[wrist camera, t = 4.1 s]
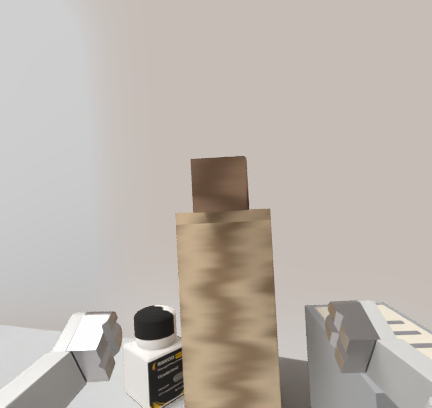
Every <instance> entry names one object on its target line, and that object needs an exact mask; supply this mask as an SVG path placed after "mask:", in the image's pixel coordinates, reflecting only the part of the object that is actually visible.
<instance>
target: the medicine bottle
mask: <svg viewBox="0 0 432 408" xmlns="http://www.w3.org/2000/svg"><path fill="white" fill-rule="evenodd" d="M134 330H135V340H134V341H131V342H128V343H126V344H124V346H123V350H124V373H125V391H126V393H127V394H128V395H129V396H131V397H132V398H133V399H134V400H135V401H136V402H137V403H138V404H140V405H141V406H142V407H143V408H162V407H163V406H165V405H166V404H168V403H170V402H171V401H173V400H174V399H176V398H178V397H179V396H181V395H182V394H184V380H183V359H182V338H181V337H179V336H177V335H176V334H177V332H176V313H175V310H174V309H173V308H171V307H169V306H164V305H154V306H149V307H146V308H143V309H141V310H140V311H138V312H137V313H136V314H135V316H134Z"/></svg>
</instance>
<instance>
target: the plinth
mask: <svg viewBox="0 0 432 408" xmlns="http://www.w3.org/2000/svg"><path fill="white" fill-rule="evenodd" d="M375 304H376V305H377V307H378V309H379V310H380V312H381V313H382V315H383V317H384V318H385V320H386V321H387V323H388V325H389V326H390V328H391V329H392V331H393V333H394V334H395V336H396V337H397V339H403V340H404V341H406V342H407V343H408V344H410V345H411V346H413V347H414V348H416V349H417V350H419V351H420V352H421V353H423V354H424V355H426V356H427V357H429V358H430V359H431V360H432V331H430V330H429V329H427V328H426V327H424V326H422V325H420V324H419V323H417V322H416V321H414V320H412V319H410V318H409V317H407V316H405V315H403V314H402V313H400V312H399V311H397V310H395V309H393V308H392V307H390V306H388V305H387V304H385V303H375ZM328 315H329V311H328V305H307V306H305V319H306V336H307V351H308V370H309V387H310V404H311V408H399V407H398V406H397V405H396V404H395V403H394V402H393V401H392V400H391V399H390V398H389V397H388V396H387V395H386V394H385V393H384V392H383V391H382V390H381V389H380V388H379V387H378V386H377V385H376V384H375V383H374V382H373V381H372V380H371V379H370V378H369V377H368V376H367V375H366V373H341V371H340V369H339V366H338V363H337V361H336V358H335V356H334V354H335V349H336V348H335V347H333V346H332V345H331V344H330V342H329V340H328V337H327V333H326V326H325V322H326V317H327V316H328Z"/></svg>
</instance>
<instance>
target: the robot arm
mask: <svg viewBox="0 0 432 408" xmlns="http://www.w3.org/2000/svg"><path fill="white" fill-rule="evenodd" d="M328 311H329V315H328V316H327V317H326V322H325V326H326V333H327V337H328V340H329V342H330V344H331V345H332V346H333V347H335V348H336V349H335V354H334V356H335V358H336V361H337V363H338V366H339V369H340V371H341V373H366V375H367V376H368V377H369V378H370V379H371V380H372V381H373V382H374V383H375V384H376V385H377V386H378V387H379V388H380V389H381V390H382V391H383V392H384V393H385V394H386V395H387V396H388V397H389V398H390V399H391V400H392V401H393V402H394V403H395V404H396V405H397V406H398V407H399V408H432V360H431V359H430V358H429V357H427V356H426V355H424V354H423V353H421V352H420V351H419V350H417V349H416V348H414V347H413V346H411V345H410V344H408V343H407V342H406V341H404V340H403V339H397V337H396V336H395V334H394V333H393V331H392V329H391V328H390V326H389V325H388V323H387V321H386V320H385V318H384V317H383V315H382V313H381V312H380V310H379V309H378V307H377V305H376V304H375V302H373V301H372V300H359V301H337V302H330V303H329V304H328ZM116 321H117V315H116V312H76V313H74V314H73V315H72V316H71V318H70V319H69V321H68V323H67V325H66V327H65V328H64V330H63V332H62V334H61V336H60V337H59V339H58V341H57V343H56V345H55V346H54V348H53V350H52V352H47V353H46V354H45V355H43V356H42V357H41V358H40V359H38V360H37V361H36V362H35V363H33V364H32V365H31V366H30V367H28V368H27V369H26V370H25V371H24V372H22V373H21V374H20V375H19V376H17V377H16V378H15V379H14V380H12V381H11V382H10V383H9V384H7V385H6V386H5V387H4V388H2V389H1V390H0V408H66V407H67V406H68V405H69V403H70V402H71V401H72V400H73V399H74V398H75V396H76V395H77V394H78V393H79V392H80V391H81V389H82V388H83V387H84V386H85V385H86V382H99V381H109V380H110V377H111V374H112V371H113V368H114V365H115V361H114V358H113V357H114V356H115V355H116V354H117V353H118V352H119V350H120V347H121V343H122V329H121V326H120V325H119V324H118V323H116Z"/></svg>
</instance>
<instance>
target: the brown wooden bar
mask: <svg viewBox="0 0 432 408" xmlns="http://www.w3.org/2000/svg"><path fill="white" fill-rule="evenodd" d="M191 175H192V196H193V213H202V212H222V211H241V210H249V198H248V179H247V161H246V158H245V156H236V157H221V158H220V157H219V158H202V159H191Z"/></svg>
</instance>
